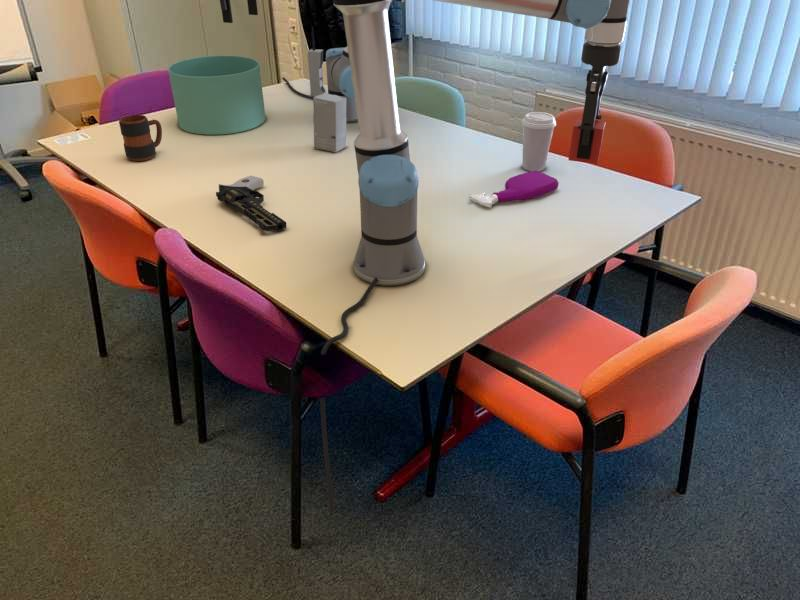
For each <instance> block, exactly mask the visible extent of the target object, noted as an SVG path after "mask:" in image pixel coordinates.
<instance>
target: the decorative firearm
mask: <svg viewBox="0 0 800 600" xmlns="http://www.w3.org/2000/svg"><path fill="white" fill-rule="evenodd" d="M264 185H265V184H264V179H263V178H262V177H259V176H255V175H249V176H245V177H243V178H240V179H238V180H236V181H235V182H233V183H232V184H221V183H219V184H218V191H215V197H217V200H218V201H219V202H221V203H224V204H226V205H227V206H228V207H230V208H232V209H233V210H236V211H238V212H239V213H240V214H242V215H243V216H245V217H246V218H248V219H249V220H250V221H251V222H253V223H254V224H256V225H257V226H258V228H259V229H260V230H262V231H265V232H272V231H273V232H274V231H277V232H281V231H284V230H285V229H287V221H286V220H284V219H282V218H281V217H280V216H278V215H277V214H275V213H274V212H270V211H268V210H267V209H265V208H264V206H263V205H261V204H262V203H263V202H265V201H264V200H265V196H264V194H263V193H261V192H260V191H258V190H256V189H260V188H263V187H264Z"/></svg>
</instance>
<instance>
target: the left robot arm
mask: <svg viewBox="0 0 800 600" xmlns="http://www.w3.org/2000/svg"><path fill="white" fill-rule="evenodd" d="M246 2H247V9H248V10H247V11H248V15H249V16H258V15H259V13H258V2H257V0H246ZM219 5H220V10H221V16H222V22H223V23H226V24H233V23H234V21H233V20H234V19H233V14H232V13H233V12H232V6H231V0H219ZM390 6H391V3H390V4H389V6H388V8H387V11H388V12H389V10H390ZM325 64H326V66H325V67H326V81H327V83H326V84H327V94H331V95H337V96H341V97H346V123H356V122H358V117H357V110H356V103H355V96H354V89H353V82H352V75H351V68H350V60H349V53H348V46H347V45H346V46H345V47H334V48H329V49H327V50H326V52H325ZM282 80H283V81H284V82H285V84H287V86H288V88H289V89H290V90H291V91H292V92H294V93H295V94H297V95H298V96H301V97H303V98H307V99H310V100H313V97H314V96H311V95H308V94H305V93H302V92H300V91H299V90H296V89H295V88H294V87H293V85H291V83H290V82H289V80H287V79H286V78H285V77H284V76H282Z"/></svg>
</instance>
